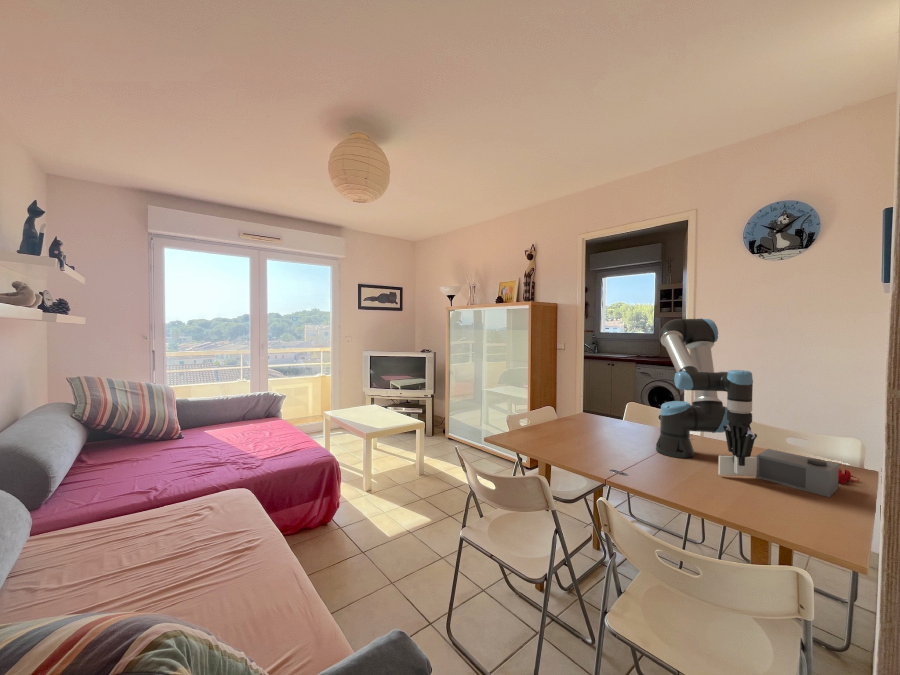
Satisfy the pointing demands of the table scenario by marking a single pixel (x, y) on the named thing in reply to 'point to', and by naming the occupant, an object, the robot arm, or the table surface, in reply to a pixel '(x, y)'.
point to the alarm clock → (845, 477)
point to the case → (799, 472)
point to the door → (749, 469)
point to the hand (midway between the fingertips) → (738, 473)
